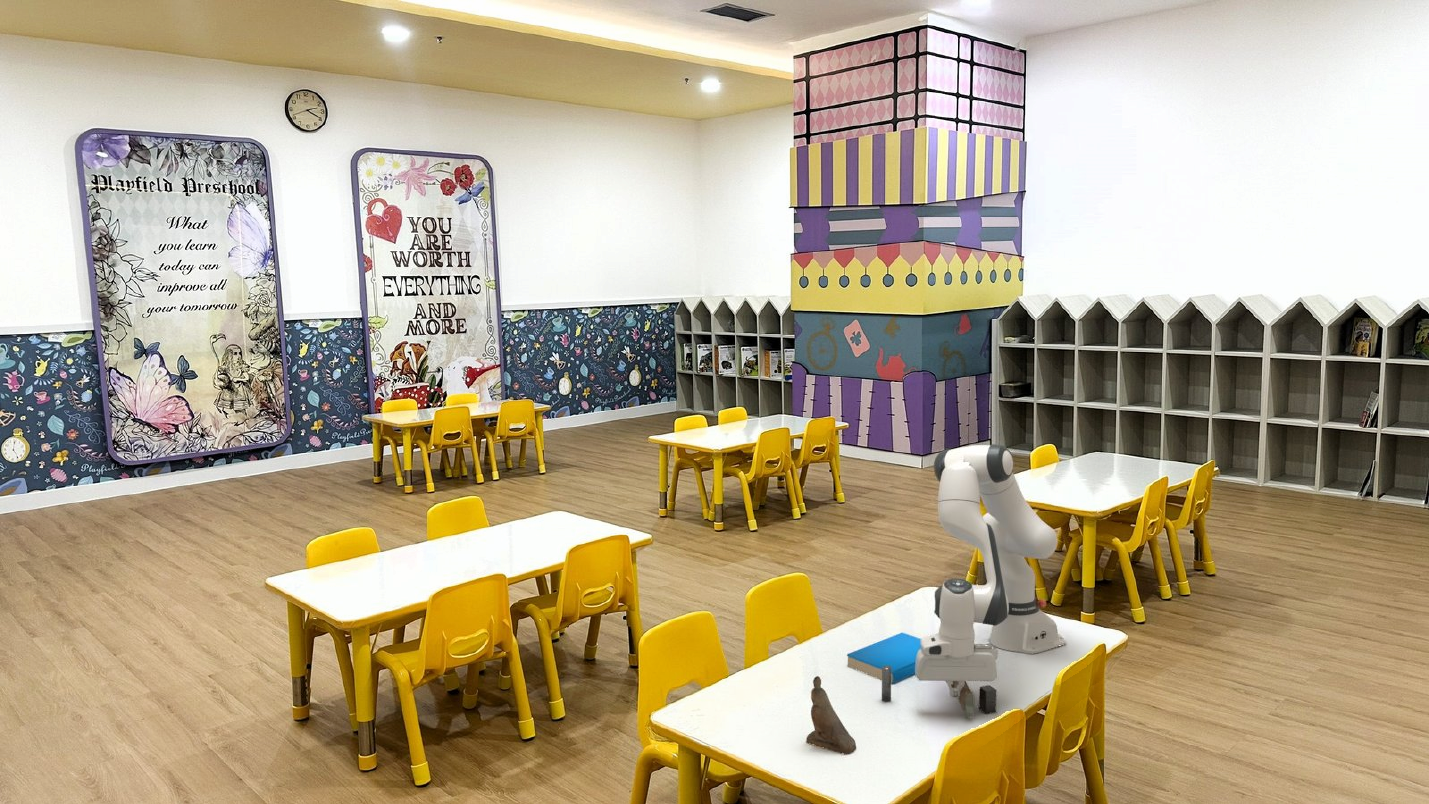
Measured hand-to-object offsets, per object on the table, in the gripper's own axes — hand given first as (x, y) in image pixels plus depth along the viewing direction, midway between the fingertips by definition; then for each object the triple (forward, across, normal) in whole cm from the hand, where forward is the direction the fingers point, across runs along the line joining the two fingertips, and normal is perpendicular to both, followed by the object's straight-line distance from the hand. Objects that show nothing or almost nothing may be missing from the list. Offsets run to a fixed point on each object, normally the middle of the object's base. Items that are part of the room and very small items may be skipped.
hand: (954, 696), depth 247 cm
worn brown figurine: (+4, +33, +18) cm, 38 cm away
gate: (+3, -3, -3) cm, 5 cm away
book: (+4, +10, -30) cm, 32 cm away
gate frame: (+4, +4, -3) cm, 6 cm away
